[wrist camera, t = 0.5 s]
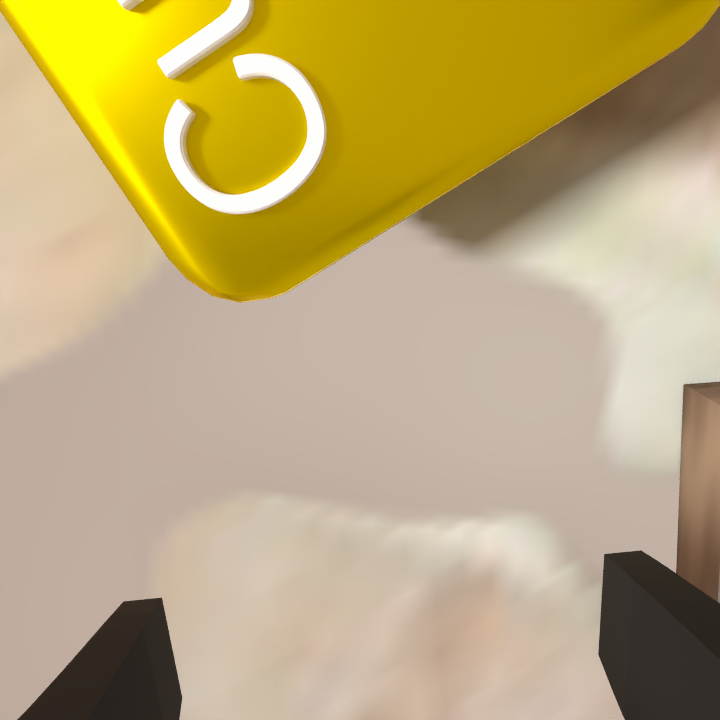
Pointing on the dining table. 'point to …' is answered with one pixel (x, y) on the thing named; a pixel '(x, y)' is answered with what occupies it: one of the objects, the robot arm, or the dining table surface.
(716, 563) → the box
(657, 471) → the dining table surface
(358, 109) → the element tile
